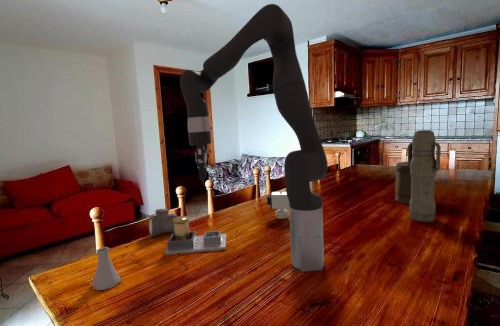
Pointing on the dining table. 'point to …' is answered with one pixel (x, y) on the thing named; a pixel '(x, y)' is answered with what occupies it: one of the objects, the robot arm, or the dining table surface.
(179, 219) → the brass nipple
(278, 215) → the pneumatic valve
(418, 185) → the thermos
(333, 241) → the dining table surface
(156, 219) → the pipe fitting
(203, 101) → the robot arm
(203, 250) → the plate
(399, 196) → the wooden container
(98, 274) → the flask
